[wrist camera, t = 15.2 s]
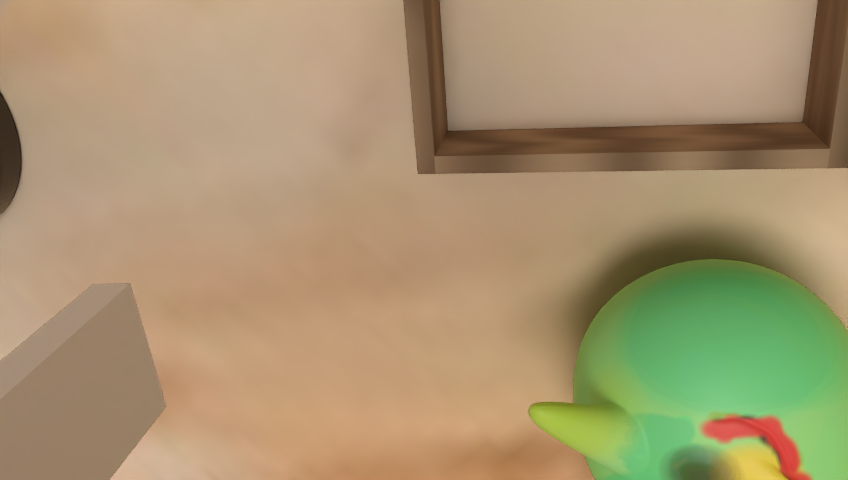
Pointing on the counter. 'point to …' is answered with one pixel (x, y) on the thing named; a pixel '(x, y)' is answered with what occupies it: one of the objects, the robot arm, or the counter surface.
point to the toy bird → (709, 380)
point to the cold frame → (640, 145)
